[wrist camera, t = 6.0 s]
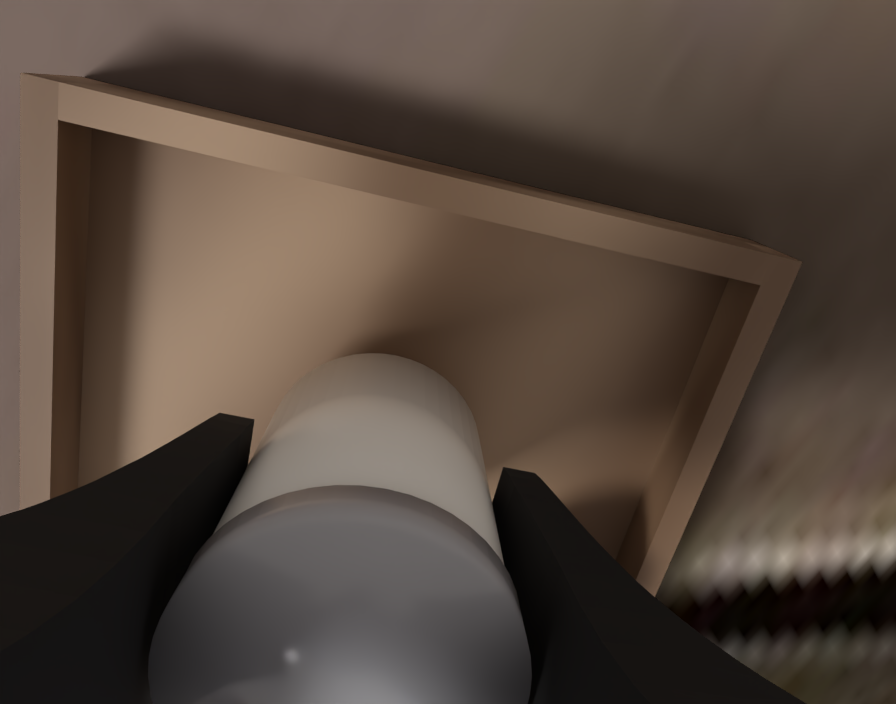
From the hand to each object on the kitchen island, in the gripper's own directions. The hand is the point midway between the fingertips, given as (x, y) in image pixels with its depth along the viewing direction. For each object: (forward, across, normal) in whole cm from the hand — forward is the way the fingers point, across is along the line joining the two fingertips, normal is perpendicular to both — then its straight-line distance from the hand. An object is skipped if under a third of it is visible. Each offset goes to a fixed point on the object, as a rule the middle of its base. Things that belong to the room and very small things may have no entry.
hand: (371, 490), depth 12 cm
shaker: (+2, 0, 0) cm, 2 cm away
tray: (+4, 0, 0) cm, 4 cm away
